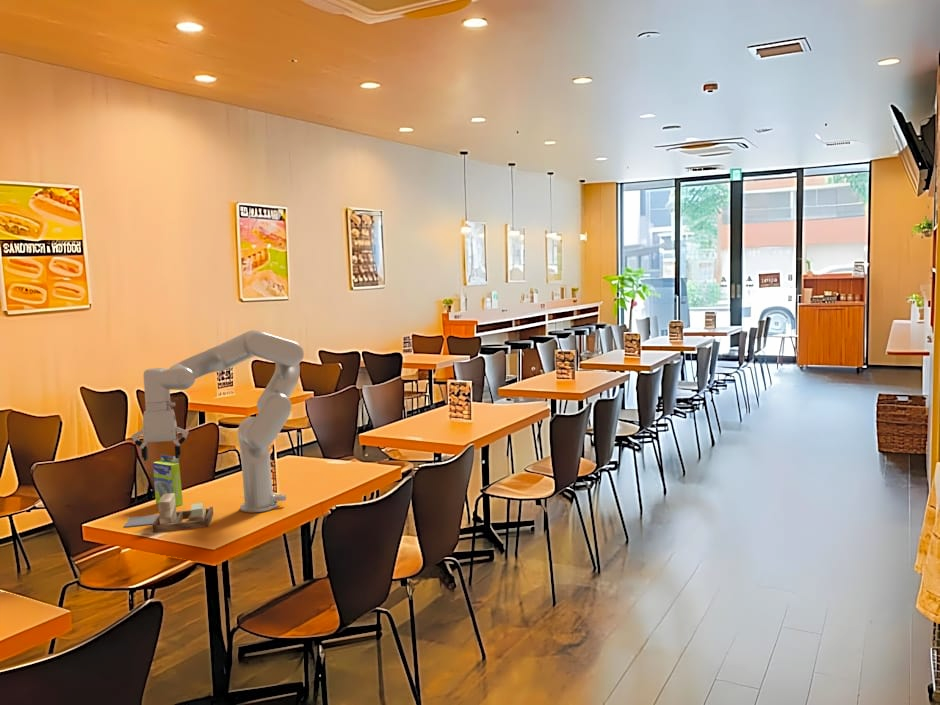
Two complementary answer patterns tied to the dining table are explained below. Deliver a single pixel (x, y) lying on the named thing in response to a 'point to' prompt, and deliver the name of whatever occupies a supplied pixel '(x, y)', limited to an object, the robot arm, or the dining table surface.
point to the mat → (141, 521)
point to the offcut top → (197, 510)
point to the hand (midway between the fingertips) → (161, 458)
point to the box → (167, 478)
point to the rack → (183, 525)
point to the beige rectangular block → (167, 509)
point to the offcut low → (198, 517)
